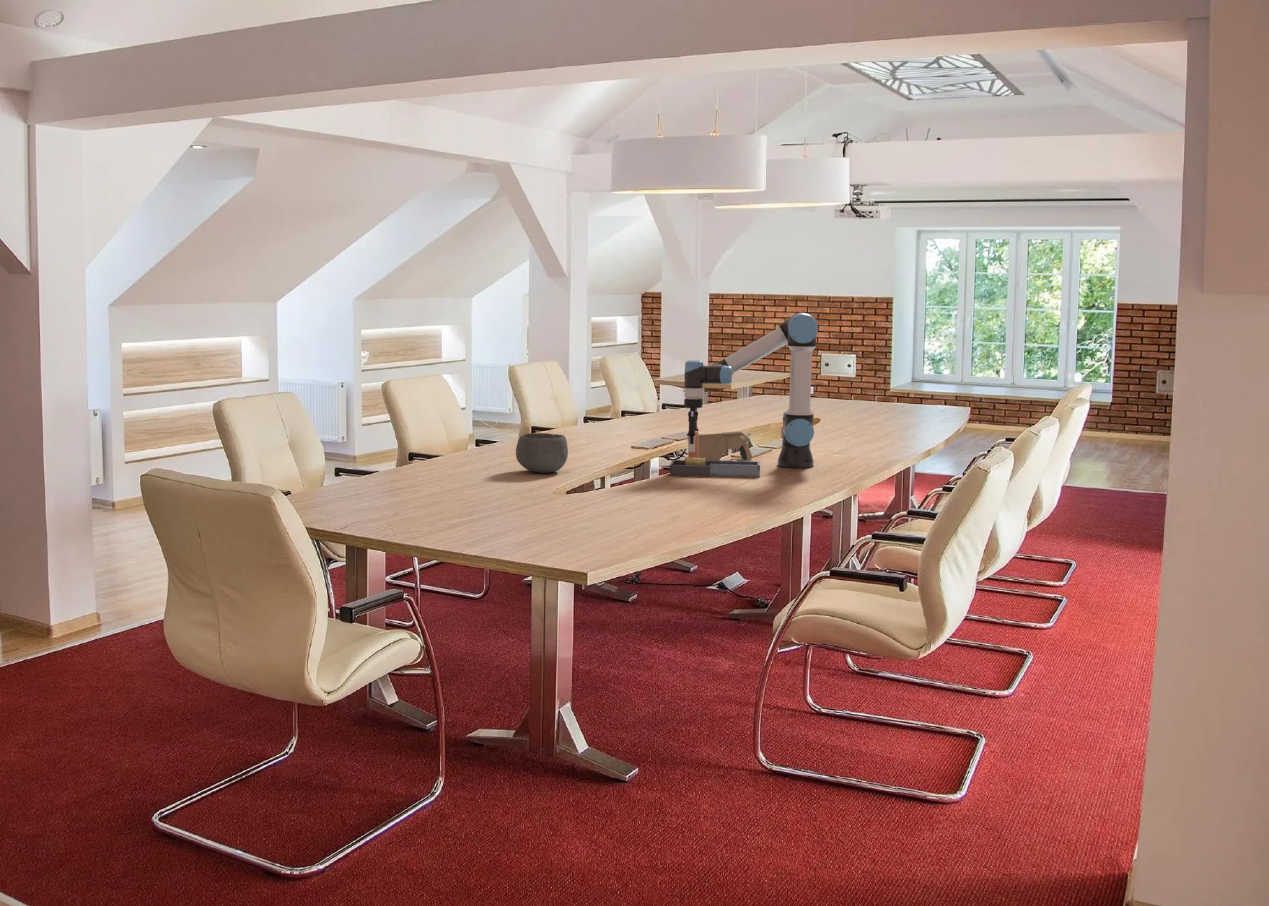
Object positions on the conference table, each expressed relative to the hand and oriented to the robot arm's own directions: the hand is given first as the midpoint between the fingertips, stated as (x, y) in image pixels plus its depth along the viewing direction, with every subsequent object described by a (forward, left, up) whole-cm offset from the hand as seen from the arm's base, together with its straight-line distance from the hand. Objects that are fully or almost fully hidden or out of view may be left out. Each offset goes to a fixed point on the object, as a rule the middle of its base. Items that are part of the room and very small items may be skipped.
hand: (692, 449), depth 505 cm
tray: (0, +12, -8) cm, 14 cm away
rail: (-18, +12, -8) cm, 23 cm away
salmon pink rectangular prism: (-1, 0, -8) cm, 8 cm away
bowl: (+60, +18, -8) cm, 63 cm away
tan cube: (-4, +12, -6) cm, 14 cm away
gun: (-12, -11, -8) cm, 18 cm away
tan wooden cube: (0, +12, -6) cm, 13 cm away
